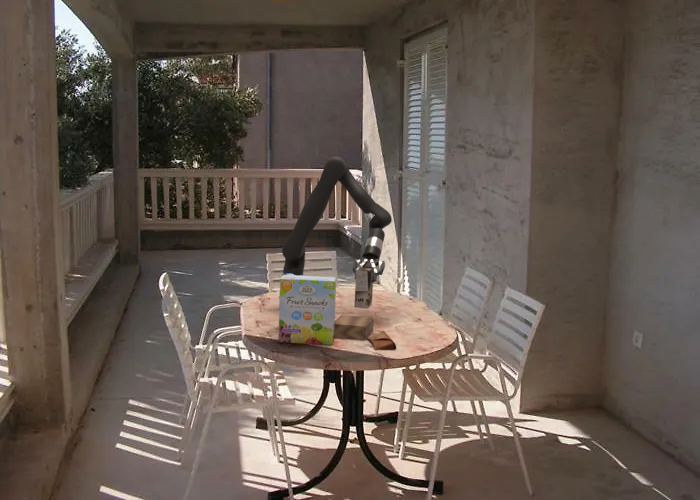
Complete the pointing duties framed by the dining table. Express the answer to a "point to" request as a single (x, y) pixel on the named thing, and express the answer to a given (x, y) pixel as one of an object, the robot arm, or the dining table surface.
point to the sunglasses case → (382, 342)
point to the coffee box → (363, 288)
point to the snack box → (307, 309)
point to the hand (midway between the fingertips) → (364, 280)
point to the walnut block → (353, 327)
